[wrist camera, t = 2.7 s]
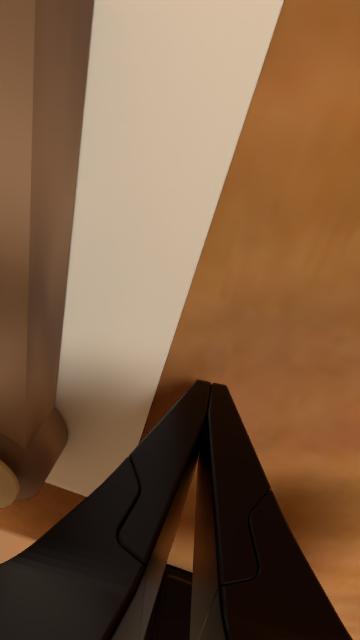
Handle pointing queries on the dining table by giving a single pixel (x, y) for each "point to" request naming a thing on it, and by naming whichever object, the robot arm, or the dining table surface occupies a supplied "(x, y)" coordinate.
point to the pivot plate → (144, 208)
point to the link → (37, 220)
